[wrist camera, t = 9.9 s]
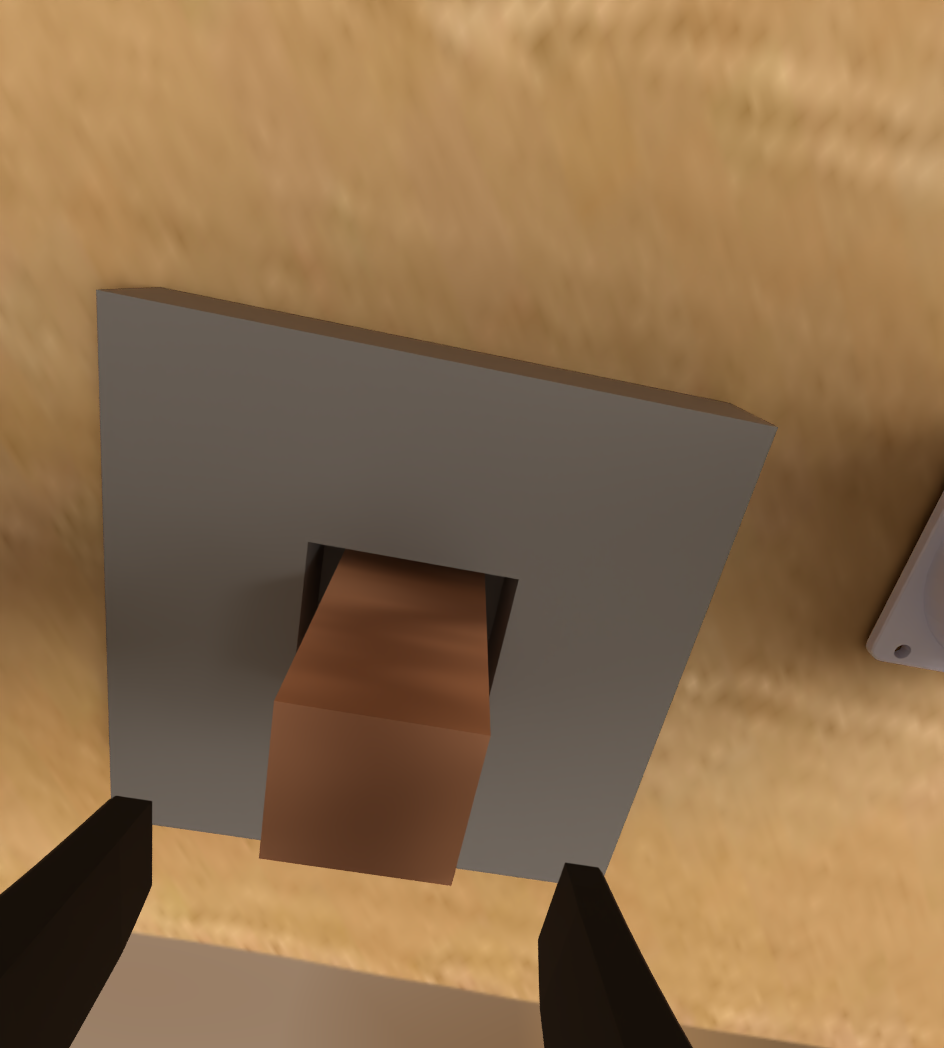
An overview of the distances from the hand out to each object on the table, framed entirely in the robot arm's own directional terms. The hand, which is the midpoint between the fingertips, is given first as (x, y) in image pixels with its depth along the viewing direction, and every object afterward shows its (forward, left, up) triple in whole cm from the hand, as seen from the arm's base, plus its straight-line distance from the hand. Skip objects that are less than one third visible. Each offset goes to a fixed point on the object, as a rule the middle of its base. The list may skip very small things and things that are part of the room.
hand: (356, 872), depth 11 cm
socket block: (0, 0, -10) cm, 10 cm away
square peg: (0, 0, -9) cm, 9 cm away
